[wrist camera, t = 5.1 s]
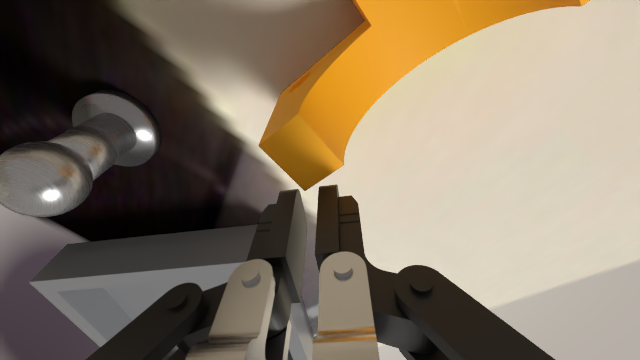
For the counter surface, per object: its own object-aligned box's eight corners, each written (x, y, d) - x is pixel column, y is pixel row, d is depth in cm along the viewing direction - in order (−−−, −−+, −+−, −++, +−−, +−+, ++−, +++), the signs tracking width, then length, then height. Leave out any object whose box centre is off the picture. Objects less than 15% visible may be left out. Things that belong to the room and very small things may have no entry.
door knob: (139, 84, 16) (21, 143, 10) (173, 155, 18) (96, 238, 12) (65, 96, 16) (-92, 159, 10) (108, 163, 18) (3, 248, 12)
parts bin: (279, 222, 21) (271, 259, 18) (316, 343, 30) (315, 381, 27) (67, 244, 22) (28, 282, 20) (163, 353, 32) (147, 389, 29)
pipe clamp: (481, -144, 11) (636, -279, 5) (520, -33, 13) (665, -51, 7) (258, 66, 15) (220, 109, 10) (311, 127, 17) (304, 191, 12)
